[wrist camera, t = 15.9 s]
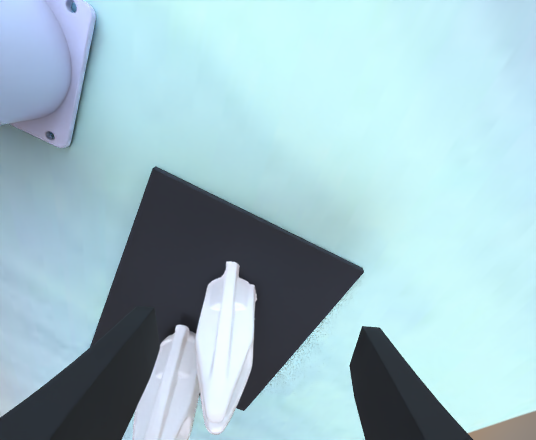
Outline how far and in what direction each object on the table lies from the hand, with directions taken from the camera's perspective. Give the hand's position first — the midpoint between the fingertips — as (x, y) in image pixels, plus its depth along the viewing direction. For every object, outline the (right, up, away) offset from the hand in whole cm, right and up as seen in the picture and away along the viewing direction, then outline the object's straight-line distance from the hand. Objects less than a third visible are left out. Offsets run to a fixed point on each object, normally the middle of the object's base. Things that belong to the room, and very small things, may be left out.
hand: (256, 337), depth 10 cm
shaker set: (-4, -4, +13) cm, 14 cm away
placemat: (-4, -4, +13) cm, 15 cm away
